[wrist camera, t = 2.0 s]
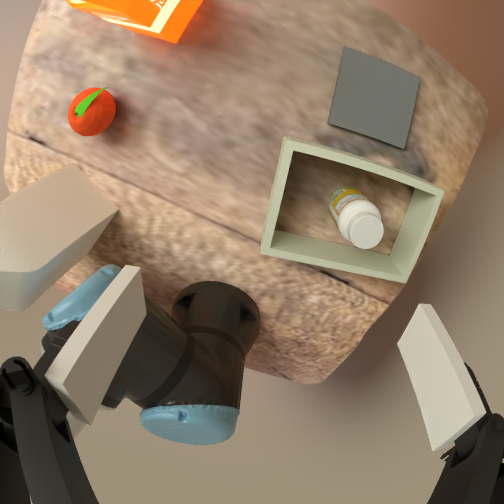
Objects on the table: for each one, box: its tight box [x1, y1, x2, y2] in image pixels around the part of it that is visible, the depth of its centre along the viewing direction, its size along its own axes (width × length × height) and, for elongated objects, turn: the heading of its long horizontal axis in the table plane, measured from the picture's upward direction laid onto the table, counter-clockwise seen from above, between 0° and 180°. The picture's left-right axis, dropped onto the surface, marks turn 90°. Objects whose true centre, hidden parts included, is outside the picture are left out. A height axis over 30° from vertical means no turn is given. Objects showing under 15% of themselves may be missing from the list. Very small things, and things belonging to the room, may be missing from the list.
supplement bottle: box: [329, 186, 384, 249], centre depth 32 cm, size 5×5×10 cm
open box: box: [260, 136, 444, 283], centre depth 34 cm, size 14×21×6 cm, turn 79°
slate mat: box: [327, 47, 420, 149], centre depth 29 cm, size 11×11×1 cm
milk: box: [0, 162, 119, 312], centre depth 28 cm, size 12×12×26 cm
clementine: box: [68, 87, 116, 136], centre depth 29 cm, size 8×7×7 cm
